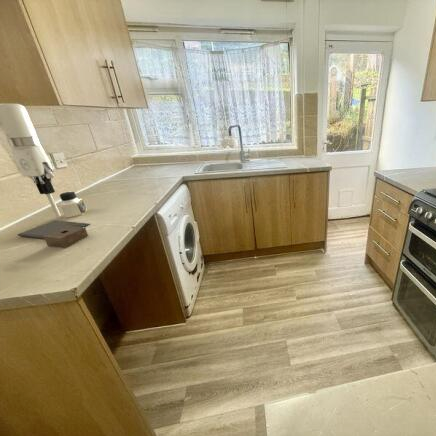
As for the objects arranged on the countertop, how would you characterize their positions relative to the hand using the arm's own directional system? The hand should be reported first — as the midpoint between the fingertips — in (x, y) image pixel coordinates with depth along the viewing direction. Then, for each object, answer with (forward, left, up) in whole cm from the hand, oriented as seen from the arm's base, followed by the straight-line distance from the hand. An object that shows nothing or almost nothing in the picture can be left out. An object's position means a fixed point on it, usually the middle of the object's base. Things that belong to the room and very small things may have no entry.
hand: (47, 192), depth 92 cm
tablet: (+7, +17, -21) cm, 28 cm away
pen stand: (0, 0, -21) cm, 21 cm away
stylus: (0, 0, -10) cm, 10 cm away
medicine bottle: (+24, +27, -21) cm, 42 cm away
